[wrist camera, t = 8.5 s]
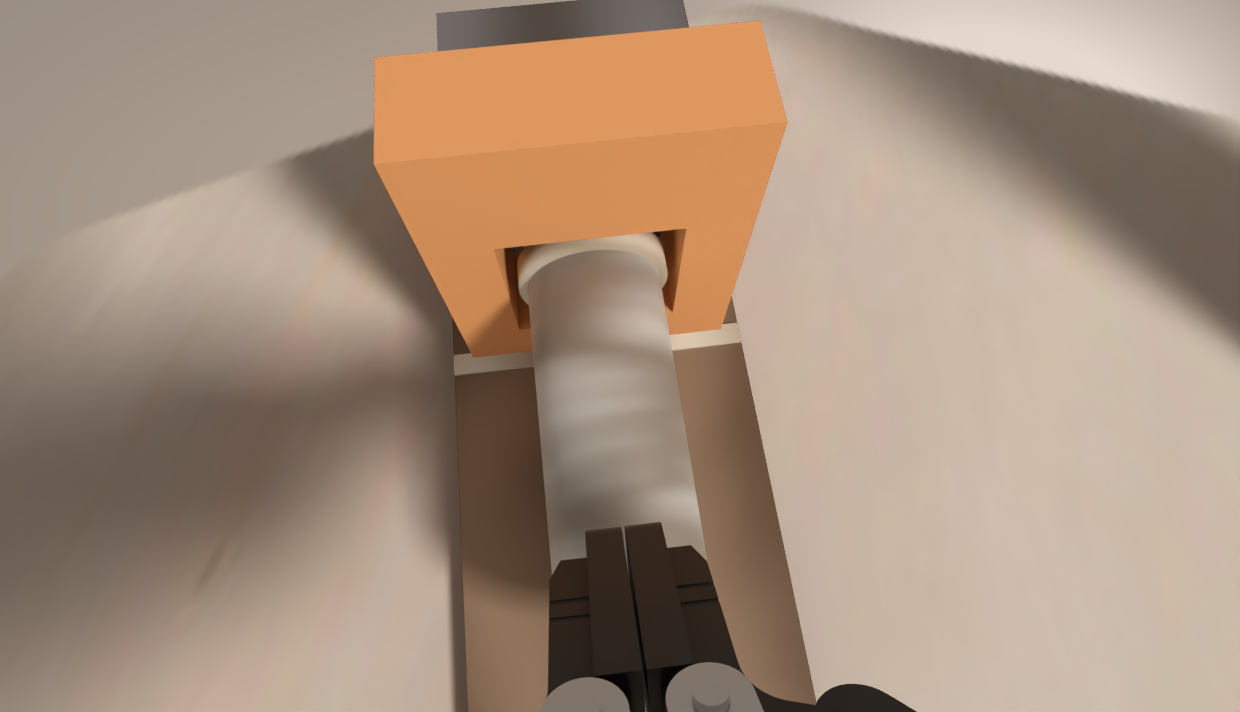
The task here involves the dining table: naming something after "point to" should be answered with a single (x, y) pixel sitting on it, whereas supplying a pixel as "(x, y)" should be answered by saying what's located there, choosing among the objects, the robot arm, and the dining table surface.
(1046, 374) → the dining table surface
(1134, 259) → the dining table surface
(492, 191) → the collar
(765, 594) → the pipe stand
